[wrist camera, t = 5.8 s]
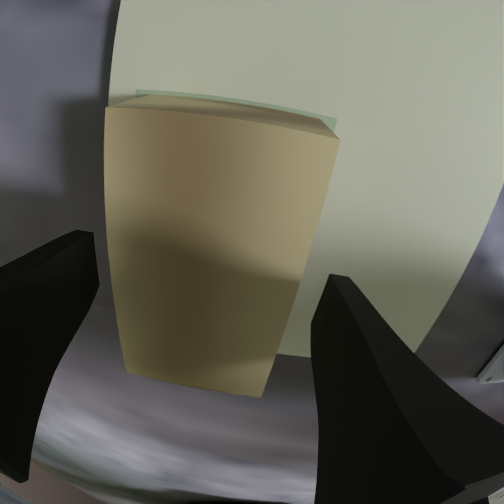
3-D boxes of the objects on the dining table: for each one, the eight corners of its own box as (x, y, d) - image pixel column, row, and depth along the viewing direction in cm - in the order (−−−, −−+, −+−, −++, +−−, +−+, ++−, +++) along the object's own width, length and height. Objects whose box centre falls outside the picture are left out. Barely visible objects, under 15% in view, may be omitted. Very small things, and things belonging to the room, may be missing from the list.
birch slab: (319, 118, 9) (340, 139, 6) (263, 338, 13) (260, 397, 11) (151, 94, 8) (105, 107, 6) (148, 318, 13) (126, 372, 11)
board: (530, 0, 5) (540, -1, 5) (403, 355, 15) (406, 365, 14) (159, -109, 5) (154, -116, 4) (123, 315, 14) (118, 324, 14)
